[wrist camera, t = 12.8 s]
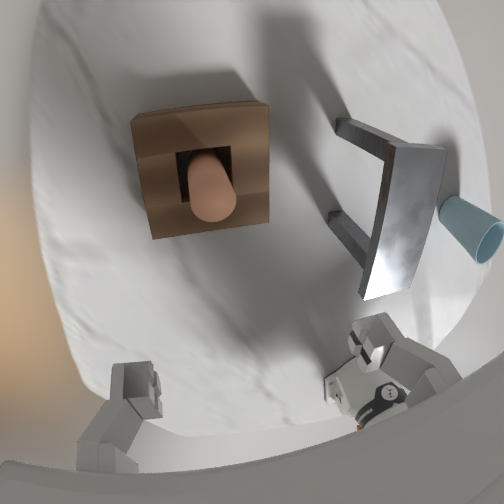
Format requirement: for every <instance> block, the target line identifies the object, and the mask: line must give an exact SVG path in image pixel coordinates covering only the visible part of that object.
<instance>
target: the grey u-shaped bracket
mask: <svg viewBox="0 0 504 504" xmlns="http://www.w3.org/2000/svg"><path fill="white" fill-rule="evenodd" d="M336 135H337V136H339V137H341V138H343V139H345V140H347V141H349V142H351V143H352V144H354V145H356V146H358V147H360V148H362V149H363V150H365V151H367V152H369V153H371V154H372V155H374V156H376V157H378V158H379V159H381V160H383V161H384V167H383V174H382V181H381V187H380V193H379V199H378V205H377V210H376V216H375V221H374V226H373V231H372V236H371V239H370V237H369V236H368V235H367V234H366V233H365V232H364V231H363V230H362V229H361V228H360V227H359V226H358V225H357V224H356V223H355V222H354V221H353V220H352V219H351V218H350V217H349V216H348V215H347V214H346V213H345V212H344V211H334V212H329V219H328V227H329V228H330V229H331V230H332V231H333V233H334V234H335V235H336V236H337V237H338V239H339V240H340V241H341V242H342V243H343V245H344V246H345V247H346V248H347V249H348V251H349V252H350V253H351V254H352V256H353V257H354V258H355V259H356V261H357V262H358V263H359V264H360V266H361V267H362V268H363V269H364V272H363V276H362V280H361V284H360V288H359V291H358V293H359V294H360V296H361V297H362V299H363V300H368V299H371V298H375V297H379V296H383V295H386V294H390V293H393V292H397V291H400V290H404V289H407V288H410V286H411V283H412V280H413V278H414V275H415V272H416V269H417V266H418V263H419V260H420V257H421V254H422V251H423V248H424V245H425V241H426V238H427V235H428V231H429V228H430V225H431V221H432V217H433V214H434V210H435V206H436V202H437V198H438V194H439V190H440V185H441V181H442V176H443V171H444V166H445V161H446V156H447V149H445V148H443V147H441V146H439V145H430V144H415V143H408V142H406V141H403V140H401V139H399V138H397V137H395V136H393V135H390V134H388V133H386V132H384V131H381V130H379V129H377V128H374V127H372V126H369V125H367V124H365V123H362V122H360V121H357V120H354V119H352V118H337V122H336Z"/></svg>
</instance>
